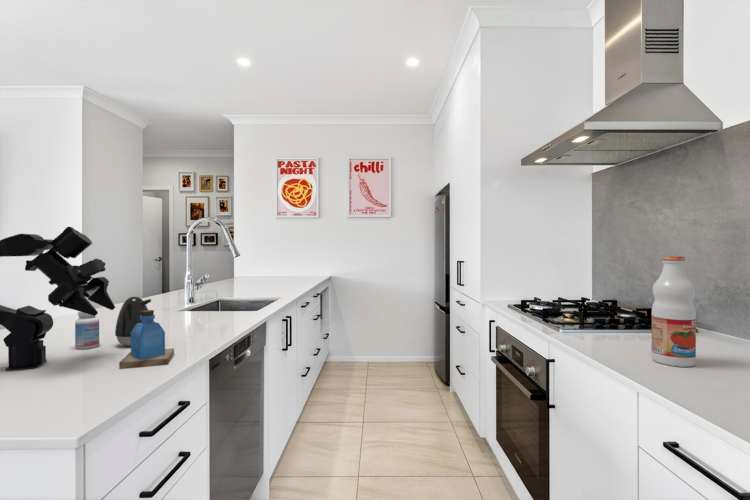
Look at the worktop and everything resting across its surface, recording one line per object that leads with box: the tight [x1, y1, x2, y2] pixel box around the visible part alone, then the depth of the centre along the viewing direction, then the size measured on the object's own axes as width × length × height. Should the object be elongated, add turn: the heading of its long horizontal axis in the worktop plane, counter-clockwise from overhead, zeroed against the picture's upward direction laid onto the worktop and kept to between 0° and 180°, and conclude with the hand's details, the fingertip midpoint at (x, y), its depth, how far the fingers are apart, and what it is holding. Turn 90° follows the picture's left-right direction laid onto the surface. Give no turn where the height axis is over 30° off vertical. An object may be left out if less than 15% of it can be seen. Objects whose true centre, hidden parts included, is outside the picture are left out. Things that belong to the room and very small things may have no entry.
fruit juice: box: [650, 255, 697, 368], centre depth 106 cm, size 9×9×28 cm
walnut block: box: [118, 347, 175, 370], centre depth 109 cm, size 11×11×2 cm
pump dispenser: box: [114, 296, 152, 347], centre depth 127 cm, size 10×10×15 cm
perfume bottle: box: [130, 309, 166, 360], centre depth 109 cm, size 6×6×12 cm
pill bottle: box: [74, 311, 100, 350], centre depth 124 cm, size 6×6×11 cm
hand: (105, 311), depth 108 cm, fingers open, 9 cm apart
